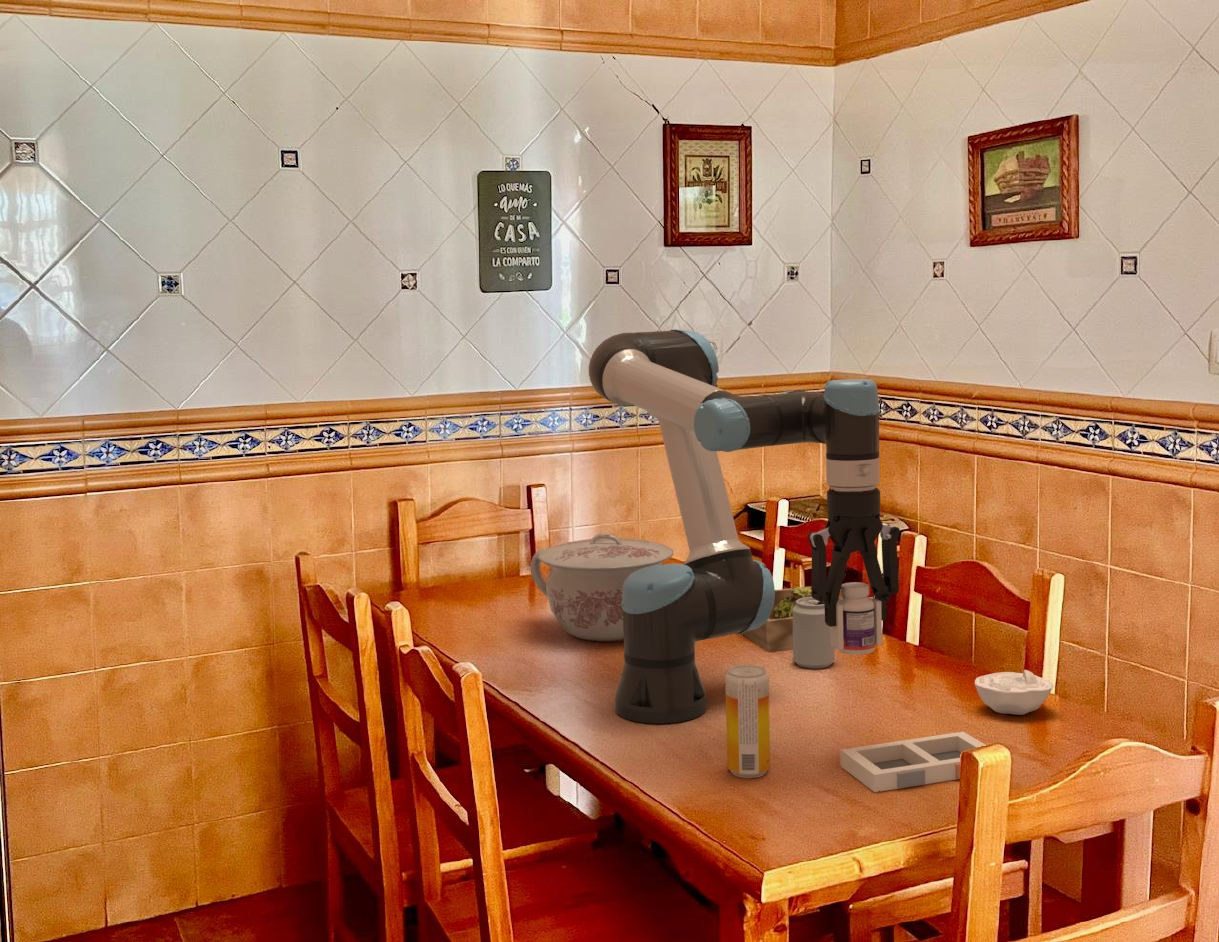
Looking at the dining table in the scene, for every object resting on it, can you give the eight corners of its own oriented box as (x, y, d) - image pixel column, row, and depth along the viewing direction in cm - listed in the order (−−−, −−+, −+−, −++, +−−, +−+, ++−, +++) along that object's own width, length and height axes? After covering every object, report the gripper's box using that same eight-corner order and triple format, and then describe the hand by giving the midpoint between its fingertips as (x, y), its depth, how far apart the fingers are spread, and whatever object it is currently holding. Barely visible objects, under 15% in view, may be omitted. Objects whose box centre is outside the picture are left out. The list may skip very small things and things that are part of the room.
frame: (768, 652, 234) (768, 621, 234) (725, 623, 255) (725, 595, 255) (868, 640, 240) (868, 609, 239) (818, 613, 261) (818, 585, 260)
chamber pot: (698, 641, 244) (696, 537, 241) (567, 660, 234) (563, 552, 231) (642, 609, 269) (640, 515, 266) (522, 625, 259) (518, 528, 256)
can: (834, 670, 222) (833, 605, 220) (792, 669, 223) (791, 604, 222) (835, 658, 229) (834, 595, 227) (794, 657, 231) (793, 594, 229)
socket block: (876, 793, 168) (876, 775, 167) (840, 766, 178) (840, 749, 177) (1004, 773, 173) (1004, 756, 173) (963, 747, 183) (963, 731, 183)
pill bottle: (836, 645, 183) (835, 581, 182) (873, 645, 182) (872, 580, 181) (838, 655, 178) (836, 589, 177) (876, 655, 177) (875, 588, 176)
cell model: (970, 700, 204) (970, 660, 203) (1046, 702, 202) (1046, 662, 201) (978, 721, 194) (978, 679, 193) (1057, 723, 192) (1058, 681, 191)
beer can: (766, 762, 180) (764, 662, 178) (773, 778, 174) (771, 675, 172) (724, 764, 180) (722, 664, 178) (730, 780, 174) (728, 677, 172)
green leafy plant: (843, 647, 237) (842, 598, 235) (759, 645, 240) (759, 596, 239) (846, 624, 253) (846, 577, 252) (768, 621, 257) (767, 575, 256)
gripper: (804, 495, 171) (808, 658, 174) (924, 485, 176) (926, 644, 179) (783, 489, 179) (787, 645, 181) (898, 479, 183) (900, 632, 186)
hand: (856, 644), depth 180 cm, fingers closed on pill bottle, 5 cm apart
